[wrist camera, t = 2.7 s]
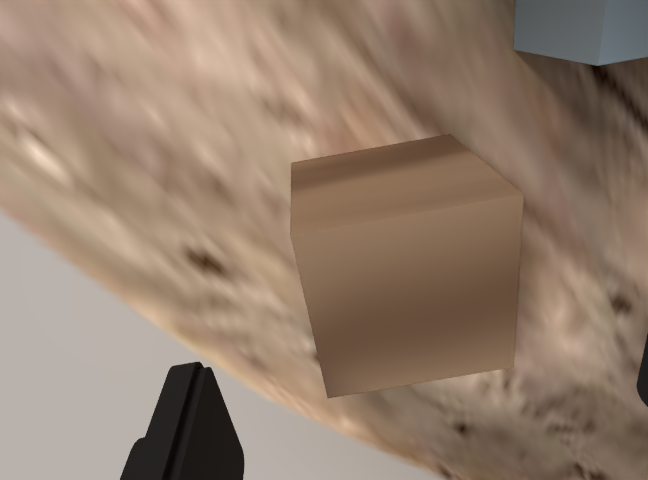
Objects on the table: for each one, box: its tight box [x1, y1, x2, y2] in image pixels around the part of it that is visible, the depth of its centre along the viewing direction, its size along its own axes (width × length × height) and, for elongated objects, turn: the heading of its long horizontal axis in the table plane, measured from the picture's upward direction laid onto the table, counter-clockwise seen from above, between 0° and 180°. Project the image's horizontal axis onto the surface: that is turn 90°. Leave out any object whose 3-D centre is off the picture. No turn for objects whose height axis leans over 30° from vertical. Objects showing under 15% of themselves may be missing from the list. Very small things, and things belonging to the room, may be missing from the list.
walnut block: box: [290, 134, 524, 398], centre depth 13 cm, size 5×5×5 cm
